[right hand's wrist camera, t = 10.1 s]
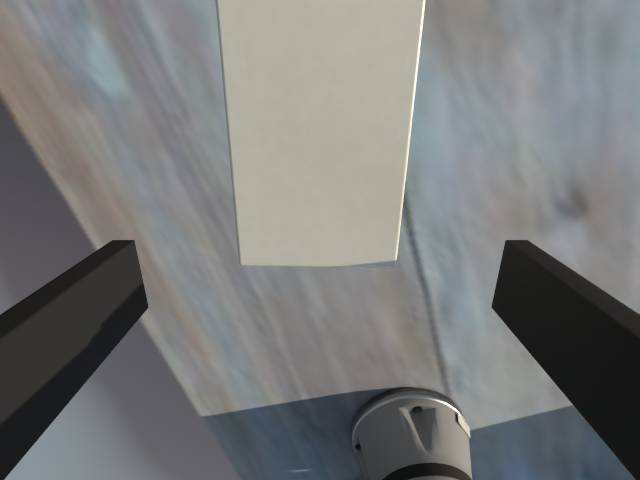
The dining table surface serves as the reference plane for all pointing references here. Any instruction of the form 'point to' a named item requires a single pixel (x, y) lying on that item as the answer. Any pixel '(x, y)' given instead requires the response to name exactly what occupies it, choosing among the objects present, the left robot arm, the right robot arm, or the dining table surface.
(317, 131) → the bar
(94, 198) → the dining table surface
